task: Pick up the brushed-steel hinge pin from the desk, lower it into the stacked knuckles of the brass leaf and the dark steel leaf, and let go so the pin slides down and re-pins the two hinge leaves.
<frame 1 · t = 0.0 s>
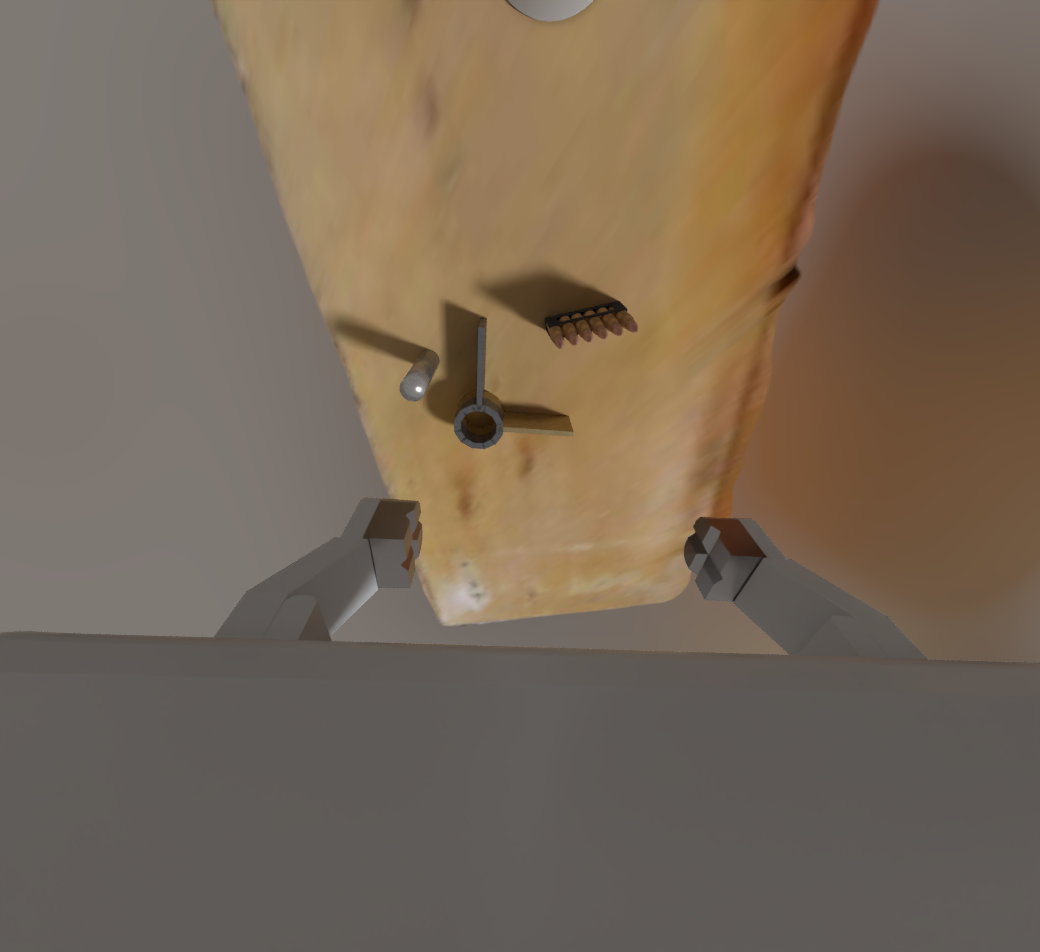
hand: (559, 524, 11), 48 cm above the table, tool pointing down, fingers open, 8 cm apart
ammunition clip: (582, 316, 53), on the table
hinge pin: (429, 359, 56), on the table
brass leaf: (481, 412, 61), on the table
steel leaf: (481, 412, 61), resting on brass leaf
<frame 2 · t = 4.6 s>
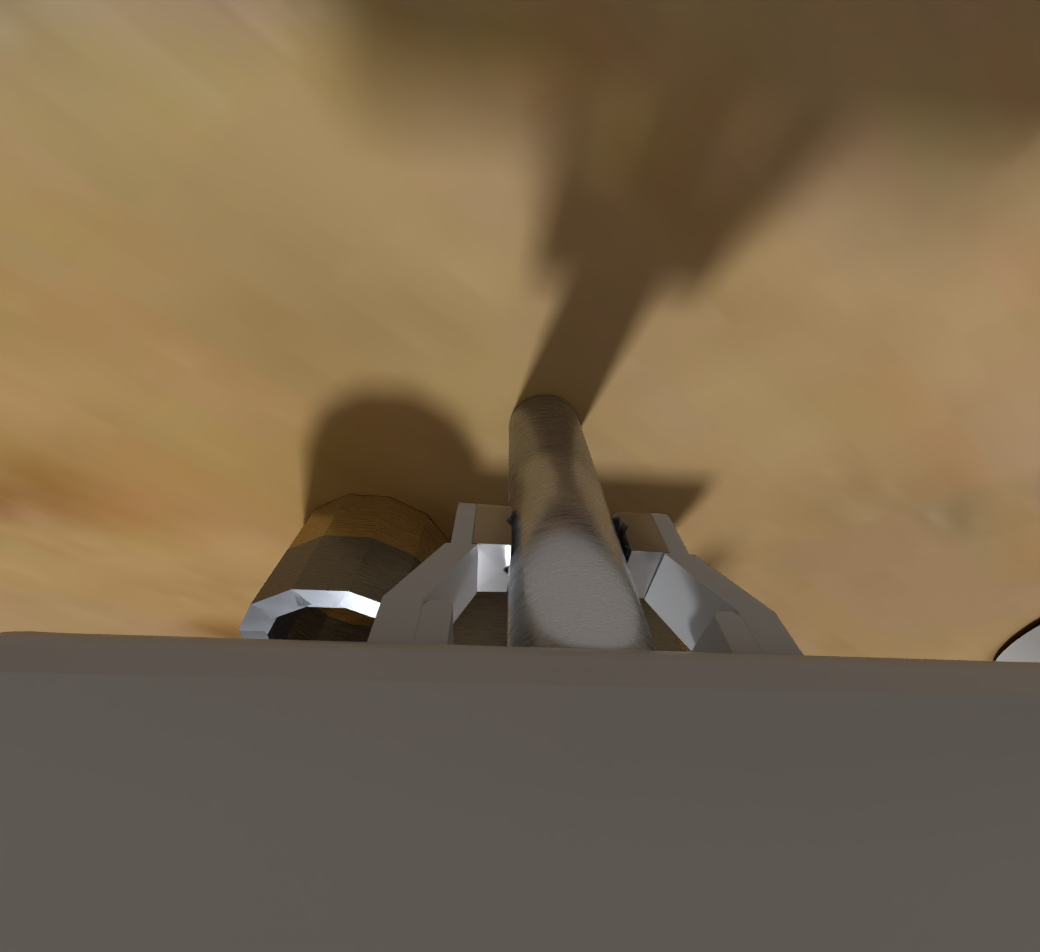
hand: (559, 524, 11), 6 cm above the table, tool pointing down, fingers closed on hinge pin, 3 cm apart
hinge pin: (543, 427, 16), on the table, touching gripper
brass leaf: (378, 550, 20), on the table
steel leaf: (378, 550, 20), resting on brass leaf
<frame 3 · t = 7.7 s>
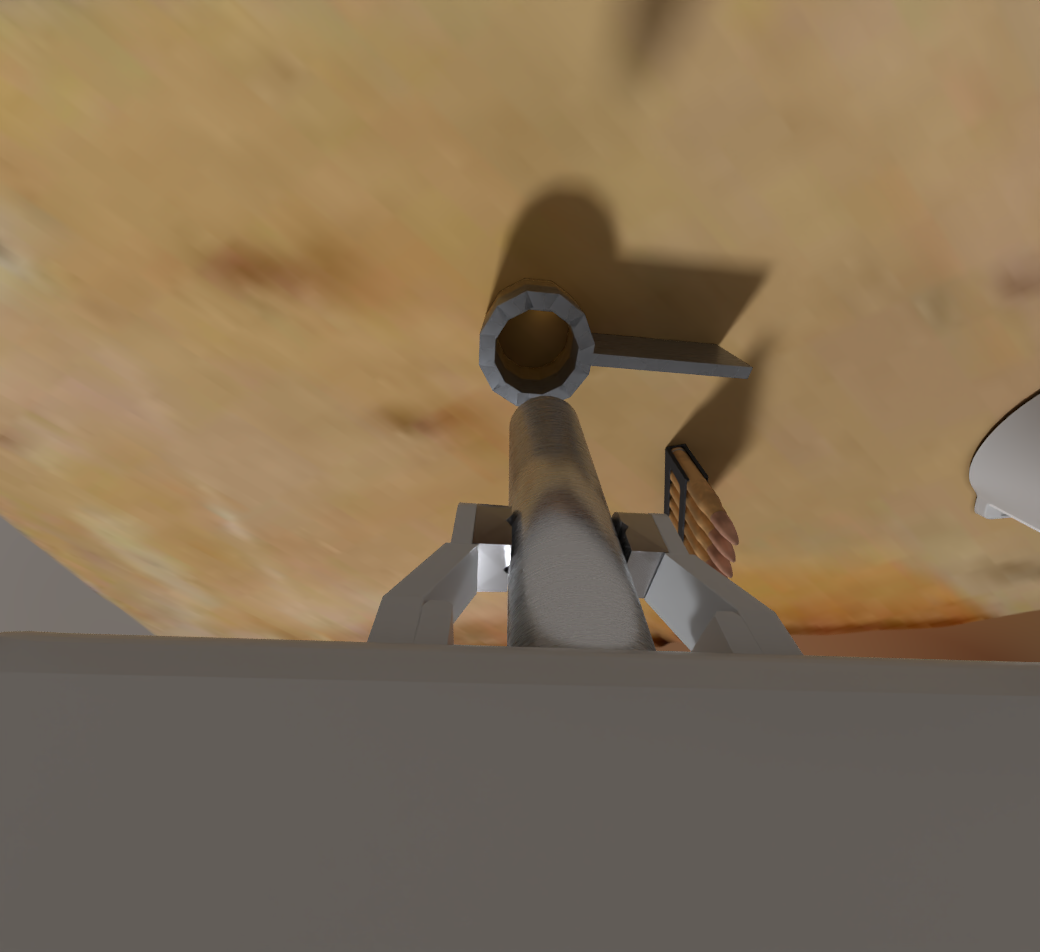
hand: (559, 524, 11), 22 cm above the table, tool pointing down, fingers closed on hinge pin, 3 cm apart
ammunition clip: (673, 487, 38), on the table
hinge pin: (544, 428, 16), point 16 cm above the table, touching gripper
brass leaf: (532, 333, 29), on the table
steel leaf: (532, 333, 29), resting on brass leaf
when the fingers open (9 cm above the table, at t = 11.0 s): hinge pin drops 3 cm, resting in brass leaf.
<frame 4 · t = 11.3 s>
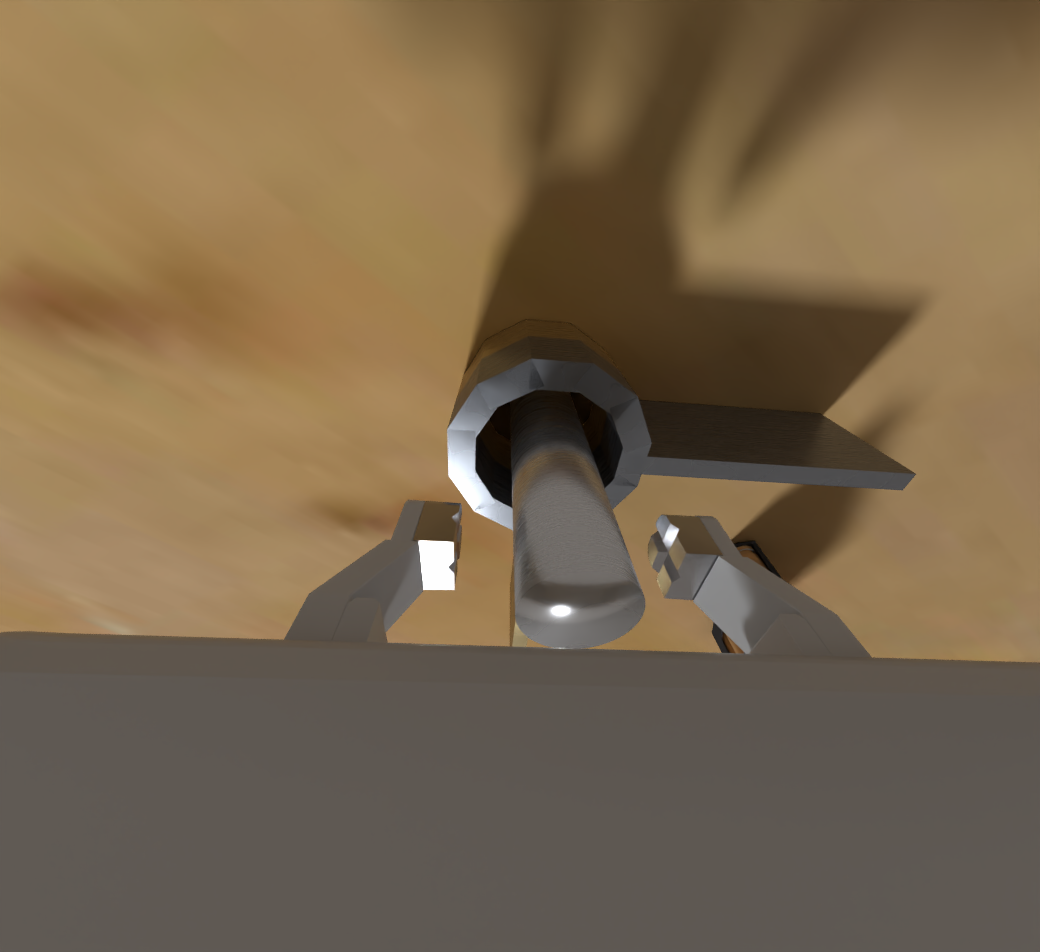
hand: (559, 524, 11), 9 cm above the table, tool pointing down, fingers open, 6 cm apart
ammunition clip: (729, 589, 28), on the table
hinge pin: (540, 400, 18), resting in brass leaf
brass leaf: (538, 400, 18), on the table
steel leaf: (538, 400, 18), resting on brass leaf
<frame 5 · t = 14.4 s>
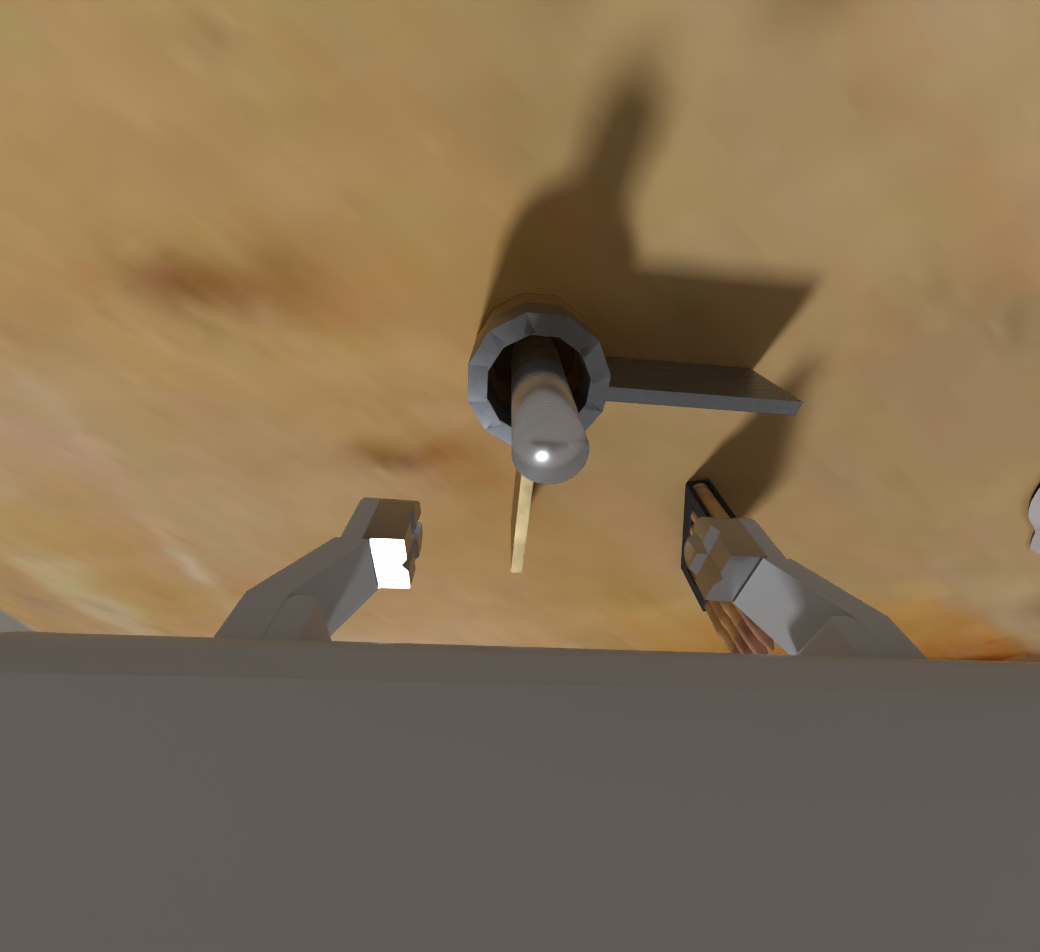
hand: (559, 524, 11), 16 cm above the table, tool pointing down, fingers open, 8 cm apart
ammunition clip: (692, 525, 33), on the table
hinge pin: (534, 357, 24), resting in brass leaf
brass leaf: (533, 356, 24), on the table
steel leaf: (533, 356, 24), resting on brass leaf
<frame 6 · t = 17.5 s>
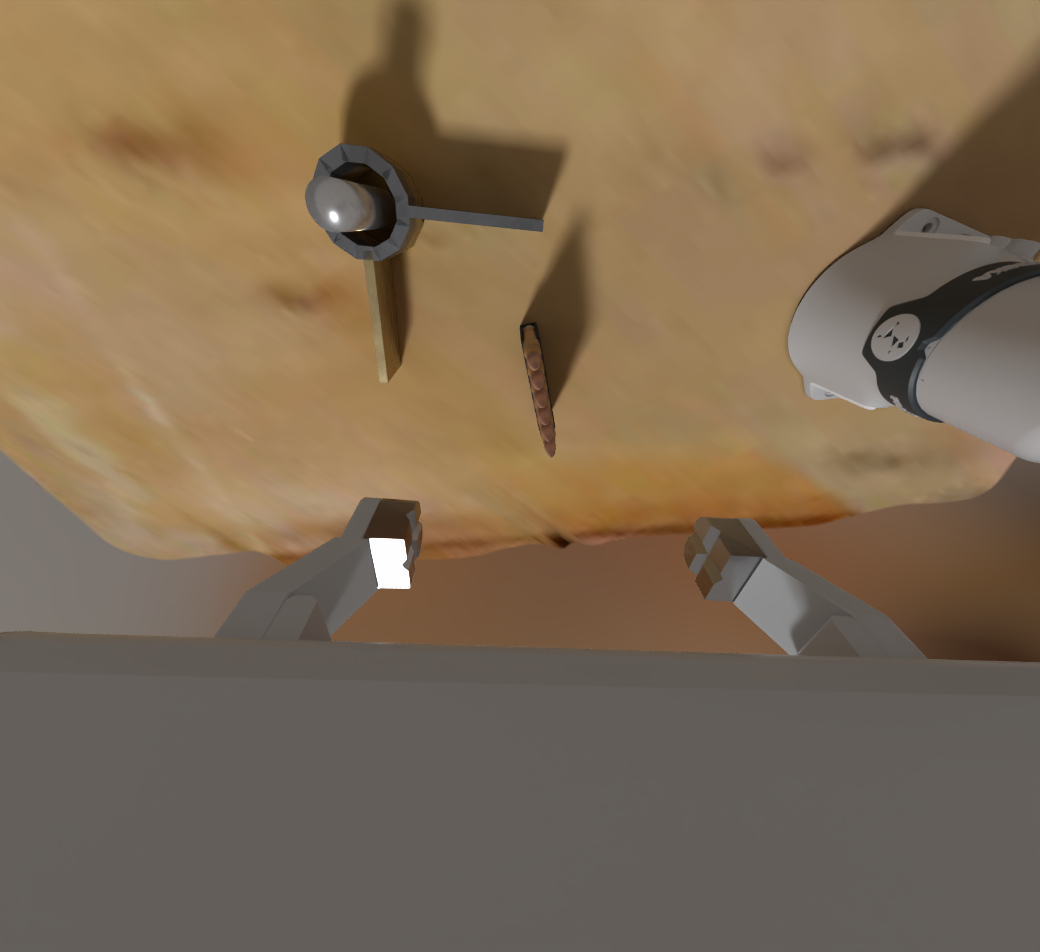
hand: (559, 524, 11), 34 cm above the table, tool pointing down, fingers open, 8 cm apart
ammunition clip: (536, 370, 43), on the table
hinge pin: (382, 208, 34), resting in brass leaf
brass leaf: (381, 208, 34), on the table
steel leaf: (381, 208, 34), resting on brass leaf
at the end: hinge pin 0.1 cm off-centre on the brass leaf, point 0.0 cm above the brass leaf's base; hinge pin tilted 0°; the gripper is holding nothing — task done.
